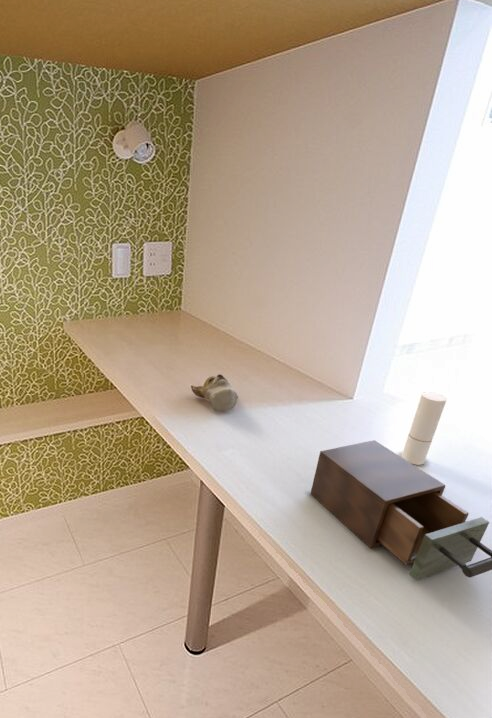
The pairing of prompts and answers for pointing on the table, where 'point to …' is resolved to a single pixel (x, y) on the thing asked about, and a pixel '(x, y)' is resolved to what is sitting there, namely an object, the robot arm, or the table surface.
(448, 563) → the drawer
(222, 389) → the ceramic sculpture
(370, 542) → the cabinet
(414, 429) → the tube
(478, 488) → the table surface
